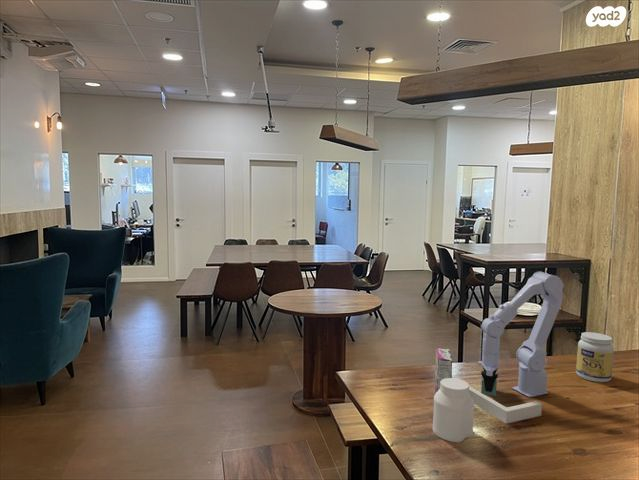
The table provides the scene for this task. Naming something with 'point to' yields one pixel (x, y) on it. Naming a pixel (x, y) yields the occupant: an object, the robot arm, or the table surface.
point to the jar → (453, 410)
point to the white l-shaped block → (506, 408)
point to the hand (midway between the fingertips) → (488, 387)
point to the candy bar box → (442, 366)
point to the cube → (486, 391)
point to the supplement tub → (595, 357)
